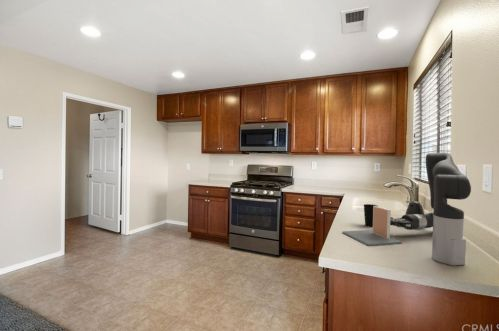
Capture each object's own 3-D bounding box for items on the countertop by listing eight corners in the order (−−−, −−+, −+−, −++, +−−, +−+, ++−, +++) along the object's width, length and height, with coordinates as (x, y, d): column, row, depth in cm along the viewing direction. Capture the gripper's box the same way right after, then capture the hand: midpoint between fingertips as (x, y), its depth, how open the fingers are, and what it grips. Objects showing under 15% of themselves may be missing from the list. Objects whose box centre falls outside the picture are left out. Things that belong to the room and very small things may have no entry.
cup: (362, 226, 146) (363, 205, 146) (363, 223, 153) (364, 203, 152) (377, 228, 142) (378, 207, 142) (377, 225, 149) (378, 205, 149)
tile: (389, 238, 121) (390, 209, 121) (387, 238, 121) (387, 209, 120) (374, 232, 131) (375, 205, 130) (372, 232, 130) (373, 205, 130)
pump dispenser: (400, 225, 149) (400, 200, 148) (411, 224, 153) (412, 199, 153) (417, 230, 139) (418, 203, 139) (429, 228, 144) (430, 201, 143)
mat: (402, 243, 117) (402, 241, 117) (368, 246, 113) (368, 244, 113) (372, 231, 136) (372, 229, 136) (342, 232, 132) (342, 231, 132)
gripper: (403, 211, 136) (375, 212, 132) (425, 217, 123) (395, 218, 120) (403, 225, 137) (375, 227, 133) (425, 232, 124) (395, 234, 120)
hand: (385, 223), depth 126 cm, fingers closed
